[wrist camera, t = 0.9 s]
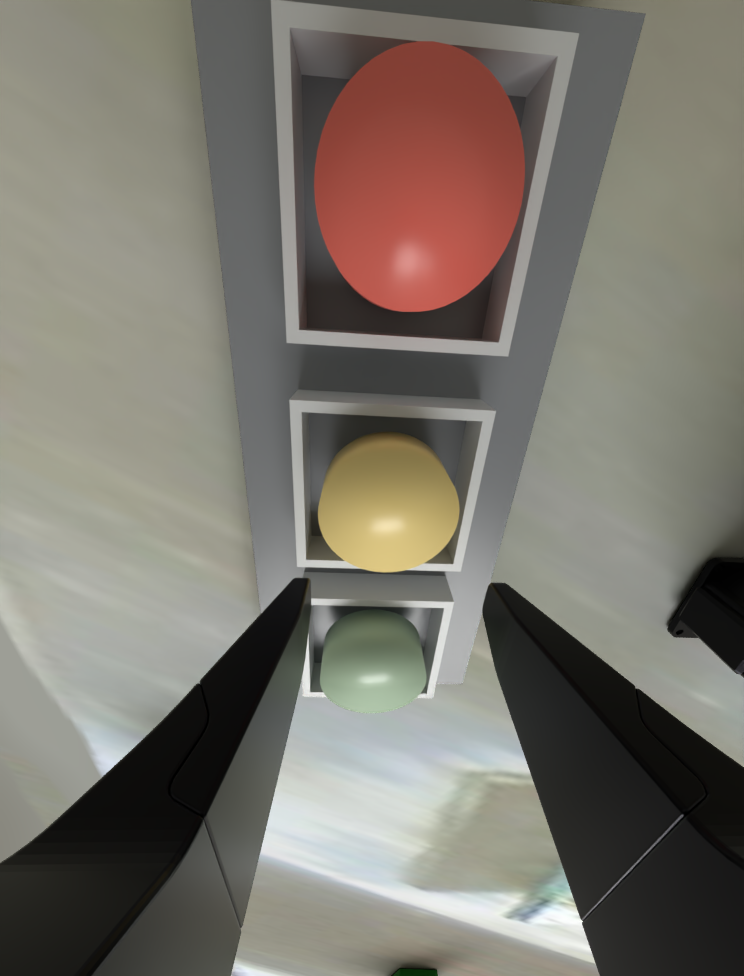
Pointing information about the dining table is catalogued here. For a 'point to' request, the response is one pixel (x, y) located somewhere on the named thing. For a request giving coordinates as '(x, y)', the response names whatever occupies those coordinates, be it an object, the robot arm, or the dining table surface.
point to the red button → (419, 176)
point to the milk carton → (415, 972)
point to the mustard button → (387, 503)
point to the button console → (381, 332)
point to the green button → (372, 662)
